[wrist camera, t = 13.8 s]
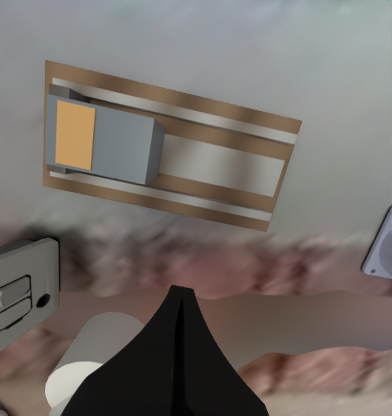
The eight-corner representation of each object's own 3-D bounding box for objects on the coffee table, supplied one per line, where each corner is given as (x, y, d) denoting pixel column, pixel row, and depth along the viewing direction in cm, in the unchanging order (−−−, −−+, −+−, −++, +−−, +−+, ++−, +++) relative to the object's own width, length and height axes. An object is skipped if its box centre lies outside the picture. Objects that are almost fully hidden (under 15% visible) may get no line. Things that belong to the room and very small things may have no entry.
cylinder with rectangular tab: (117, 378, 27) (55, 550, 15) (65, 337, 25) (-50, 496, 13) (165, 344, 25) (139, 505, 13) (115, 298, 23) (34, 438, 12)
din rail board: (298, 122, 18) (322, 113, 15) (264, 229, 21) (277, 243, 18) (50, 63, 17) (13, 39, 14) (47, 185, 20) (15, 190, 16)
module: (165, 129, 18) (153, 117, 13) (157, 177, 19) (144, 185, 14) (88, 111, 17) (44, 92, 12) (84, 162, 19) (43, 163, 14)
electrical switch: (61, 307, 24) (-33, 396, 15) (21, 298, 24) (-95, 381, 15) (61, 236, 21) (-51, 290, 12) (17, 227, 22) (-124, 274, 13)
